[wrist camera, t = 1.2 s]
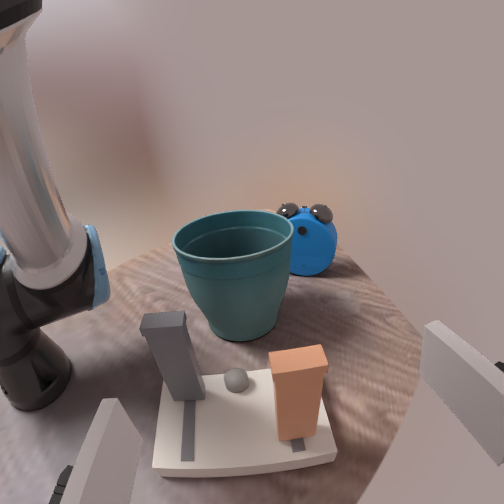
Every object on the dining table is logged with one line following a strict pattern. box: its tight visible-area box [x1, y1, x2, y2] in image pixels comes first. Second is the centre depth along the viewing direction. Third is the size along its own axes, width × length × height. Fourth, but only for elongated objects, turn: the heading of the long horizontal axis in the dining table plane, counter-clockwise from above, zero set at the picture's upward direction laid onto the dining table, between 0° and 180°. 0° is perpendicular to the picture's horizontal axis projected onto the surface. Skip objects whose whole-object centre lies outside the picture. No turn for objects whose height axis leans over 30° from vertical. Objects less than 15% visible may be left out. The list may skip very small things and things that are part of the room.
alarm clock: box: [276, 203, 337, 276], centre depth 62 cm, size 13×6×15 cm, turn 72°
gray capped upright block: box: [139, 310, 205, 401], centre depth 31 cm, size 2×4×12 cm, turn 95°
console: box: [152, 368, 338, 477], centre depth 32 cm, size 14×20×4 cm
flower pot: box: [172, 210, 294, 341], centre depth 49 cm, size 18×18×17 cm
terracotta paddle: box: [269, 344, 328, 441], centre depth 26 cm, size 2×4×12 cm, turn 95°
